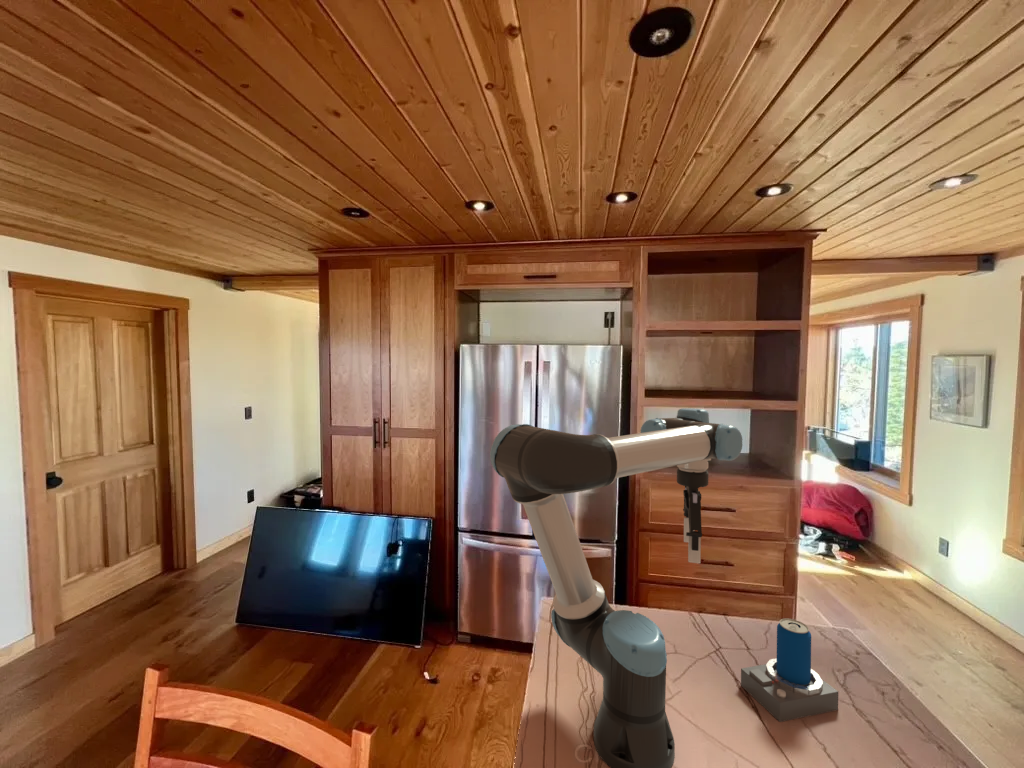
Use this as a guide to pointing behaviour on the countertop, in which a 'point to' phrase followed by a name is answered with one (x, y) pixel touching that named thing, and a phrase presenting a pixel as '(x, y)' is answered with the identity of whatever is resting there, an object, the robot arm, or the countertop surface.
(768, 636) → the countertop surface
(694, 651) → the countertop surface
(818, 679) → the mount ring
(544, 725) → the countertop surface
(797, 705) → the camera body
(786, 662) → the beverage can
